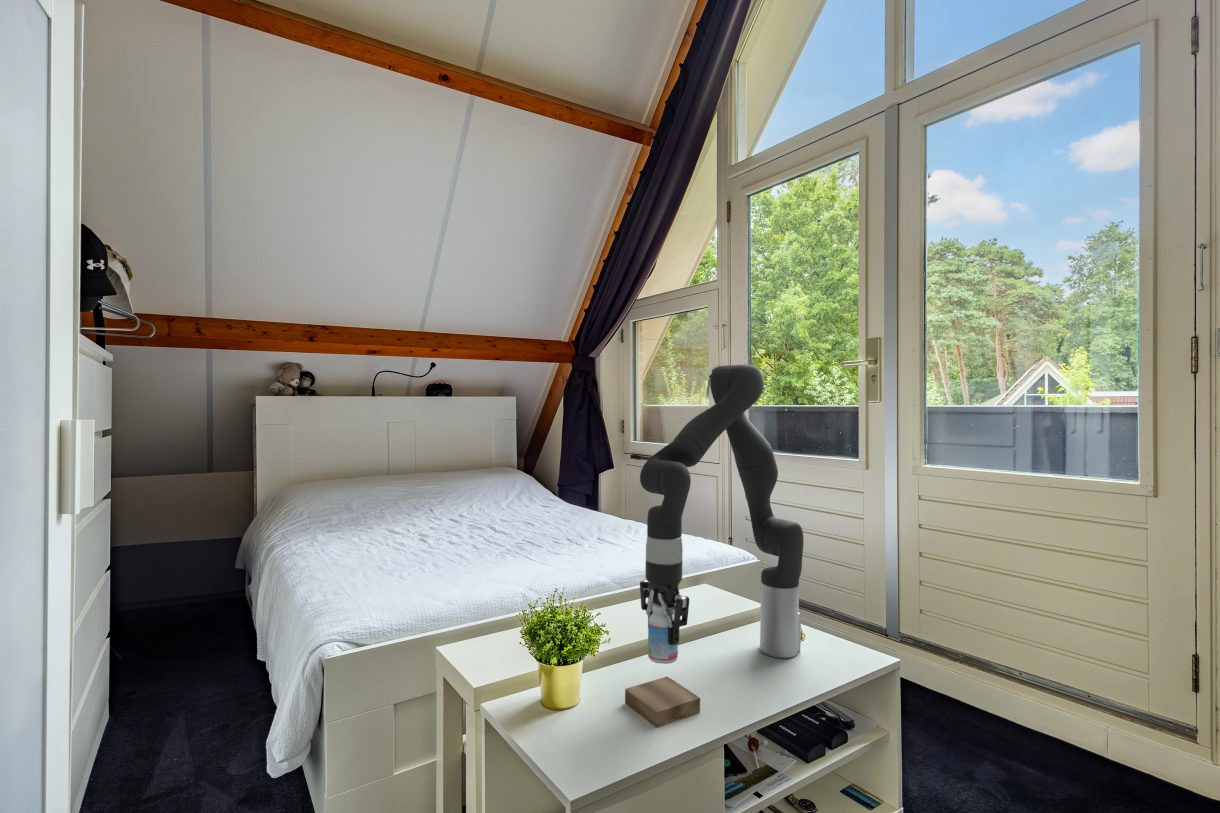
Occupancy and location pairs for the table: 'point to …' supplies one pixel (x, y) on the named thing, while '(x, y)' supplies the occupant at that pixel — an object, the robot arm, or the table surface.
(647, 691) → the walnut stand
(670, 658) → the pill bottle
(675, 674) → the table surface
